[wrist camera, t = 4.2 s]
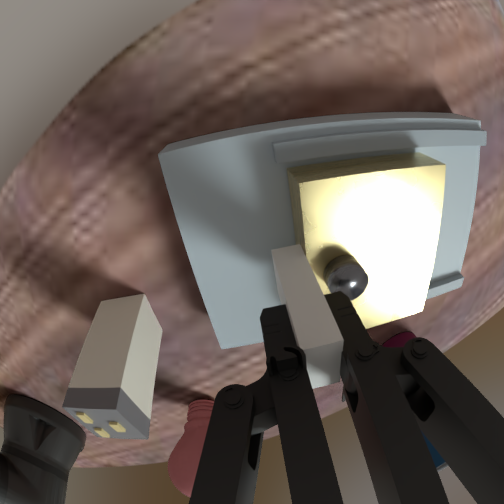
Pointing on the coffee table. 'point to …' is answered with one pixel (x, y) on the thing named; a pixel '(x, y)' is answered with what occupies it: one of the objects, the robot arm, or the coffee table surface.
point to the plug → (117, 370)
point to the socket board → (279, 203)
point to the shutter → (371, 229)
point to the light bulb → (190, 446)
